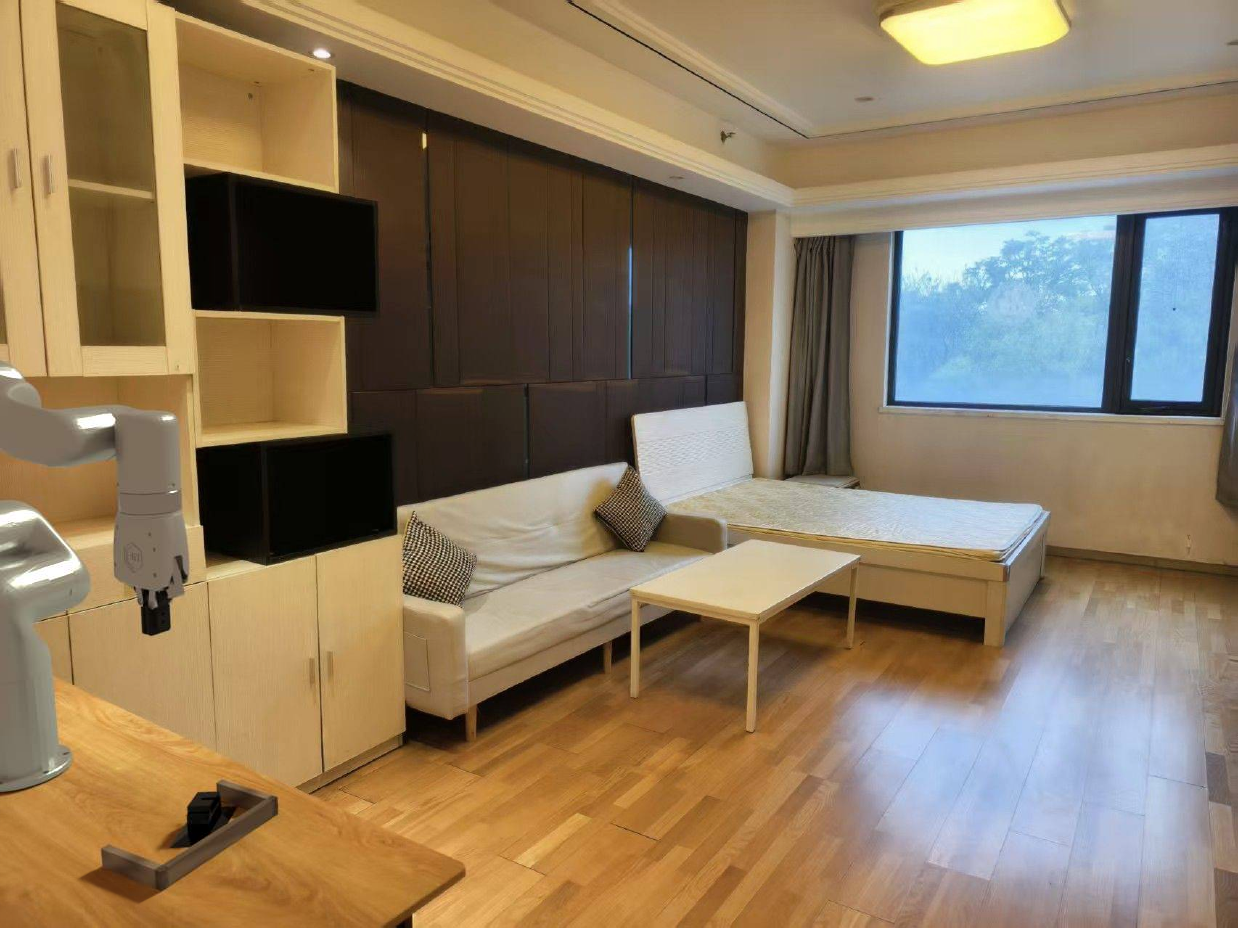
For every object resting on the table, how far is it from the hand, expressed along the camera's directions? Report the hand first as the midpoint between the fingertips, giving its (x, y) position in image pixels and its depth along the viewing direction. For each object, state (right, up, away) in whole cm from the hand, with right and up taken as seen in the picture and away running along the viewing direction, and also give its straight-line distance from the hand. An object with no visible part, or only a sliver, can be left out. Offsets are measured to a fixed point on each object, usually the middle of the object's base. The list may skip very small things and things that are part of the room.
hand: (156, 631), depth 117 cm
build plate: (+8, -26, -3) cm, 28 cm away
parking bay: (+8, -26, -6) cm, 28 cm away
